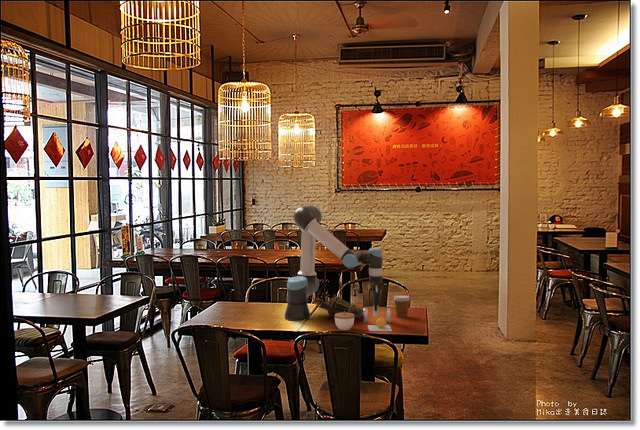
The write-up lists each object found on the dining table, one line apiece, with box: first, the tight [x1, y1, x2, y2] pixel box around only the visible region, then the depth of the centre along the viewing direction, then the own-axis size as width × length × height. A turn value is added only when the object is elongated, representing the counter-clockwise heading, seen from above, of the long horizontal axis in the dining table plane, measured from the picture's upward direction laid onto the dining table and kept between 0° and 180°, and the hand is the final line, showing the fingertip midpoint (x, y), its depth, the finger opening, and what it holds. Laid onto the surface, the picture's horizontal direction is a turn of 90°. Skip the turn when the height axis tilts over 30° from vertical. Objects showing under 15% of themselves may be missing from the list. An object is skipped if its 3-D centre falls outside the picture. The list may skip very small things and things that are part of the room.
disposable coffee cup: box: [393, 294, 411, 319], centre depth 336 cm, size 10×10×12 cm
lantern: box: [313, 294, 364, 318], centre depth 335 cm, size 14×23×30 cm
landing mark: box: [367, 324, 393, 332], centre depth 309 cm, size 12×12×1 cm
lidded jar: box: [334, 311, 355, 331], centre depth 308 cm, size 11×11×9 cm
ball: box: [375, 317, 387, 328], centre depth 310 cm, size 6×6×6 cm
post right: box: [385, 307, 392, 324], centre depth 322 cm, size 3×3×8 cm
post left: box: [363, 307, 369, 324], centre depth 322 cm, size 3×3×8 cm
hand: (375, 315), depth 330 cm, fingers closed
